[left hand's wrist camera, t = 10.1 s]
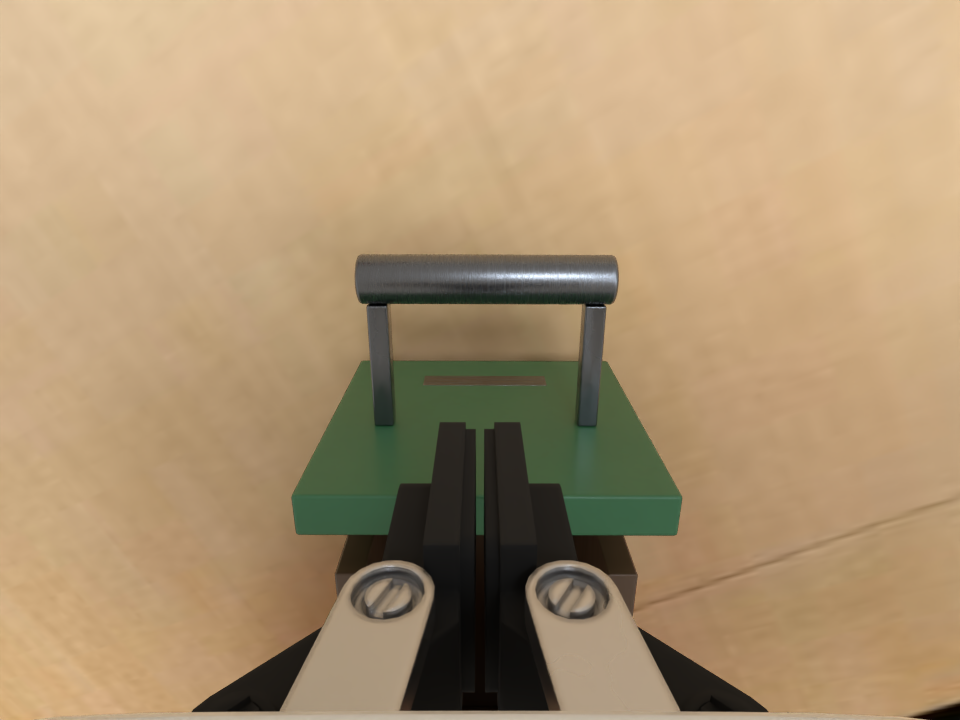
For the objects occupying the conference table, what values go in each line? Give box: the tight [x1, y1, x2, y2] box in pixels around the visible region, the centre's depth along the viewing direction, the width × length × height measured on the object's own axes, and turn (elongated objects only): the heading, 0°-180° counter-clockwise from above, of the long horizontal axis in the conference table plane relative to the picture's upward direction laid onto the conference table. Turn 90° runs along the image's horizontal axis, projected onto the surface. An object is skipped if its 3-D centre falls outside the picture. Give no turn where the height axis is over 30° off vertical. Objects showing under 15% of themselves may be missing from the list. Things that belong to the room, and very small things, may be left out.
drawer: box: [291, 255, 682, 711], centre depth 21 cm, size 23×10×9 cm, turn 0°
